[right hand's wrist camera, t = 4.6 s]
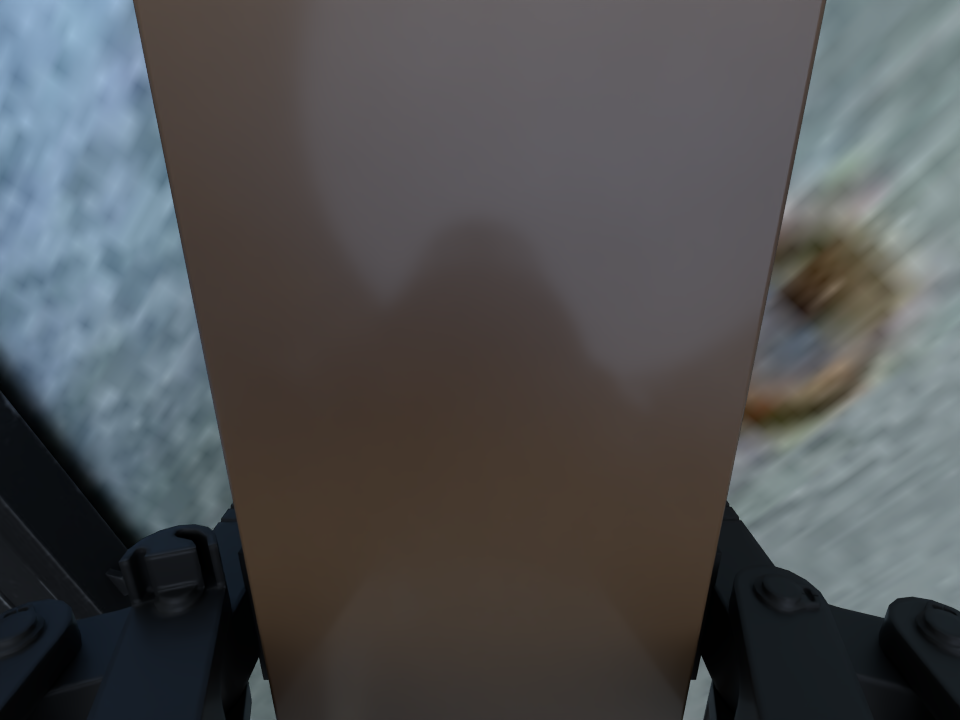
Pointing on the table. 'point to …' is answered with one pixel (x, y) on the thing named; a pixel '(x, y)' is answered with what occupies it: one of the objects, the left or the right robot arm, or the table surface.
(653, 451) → the beam
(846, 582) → the table surface
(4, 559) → the handgun
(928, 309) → the table surface
